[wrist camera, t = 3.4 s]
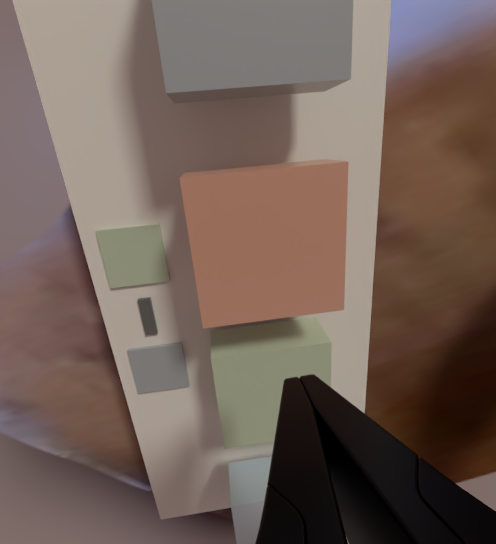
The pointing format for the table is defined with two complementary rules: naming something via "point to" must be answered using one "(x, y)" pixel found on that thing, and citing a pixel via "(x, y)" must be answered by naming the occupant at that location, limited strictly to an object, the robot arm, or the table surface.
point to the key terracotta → (267, 240)
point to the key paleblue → (248, 496)
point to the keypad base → (171, 216)
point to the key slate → (252, 47)
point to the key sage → (263, 373)
